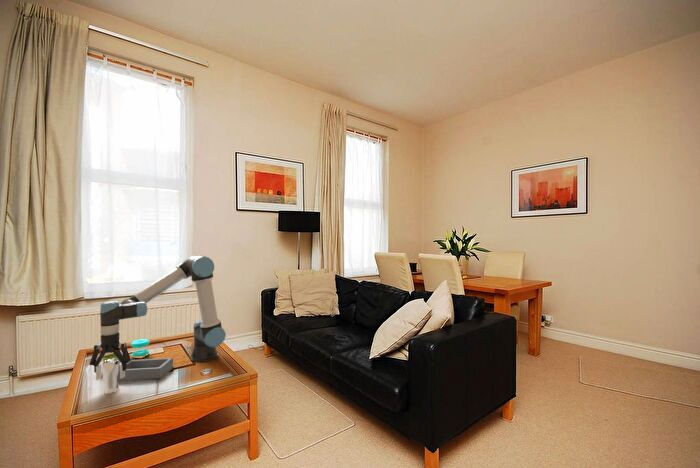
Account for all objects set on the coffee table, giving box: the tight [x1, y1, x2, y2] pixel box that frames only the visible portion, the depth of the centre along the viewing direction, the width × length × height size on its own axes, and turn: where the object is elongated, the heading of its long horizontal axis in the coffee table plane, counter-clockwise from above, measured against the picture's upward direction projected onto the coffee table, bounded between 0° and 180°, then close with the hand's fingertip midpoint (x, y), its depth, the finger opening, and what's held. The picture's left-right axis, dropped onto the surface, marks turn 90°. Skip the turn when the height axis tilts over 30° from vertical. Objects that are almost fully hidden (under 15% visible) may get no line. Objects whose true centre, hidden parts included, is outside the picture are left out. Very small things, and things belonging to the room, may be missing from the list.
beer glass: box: [101, 358, 121, 395], centre depth 163 cm, size 7×7×15 cm
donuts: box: [130, 338, 151, 357], centre depth 211 cm, size 10×10×10 cm
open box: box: [118, 357, 174, 383], centre depth 181 cm, size 23×15×6 cm, turn 96°
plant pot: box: [102, 352, 121, 364], centre depth 188 cm, size 9×9×9 cm
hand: (110, 378), depth 163 cm, fingers open, 10 cm apart
